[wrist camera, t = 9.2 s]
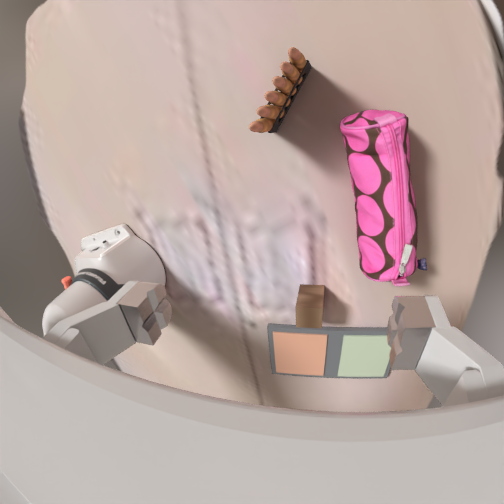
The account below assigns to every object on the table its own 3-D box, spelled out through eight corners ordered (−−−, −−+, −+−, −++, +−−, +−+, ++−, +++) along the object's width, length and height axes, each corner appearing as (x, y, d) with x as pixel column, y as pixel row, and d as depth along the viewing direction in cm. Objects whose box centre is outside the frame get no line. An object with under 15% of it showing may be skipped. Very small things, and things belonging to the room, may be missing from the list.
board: (272, 370, 57) (271, 374, 56) (268, 323, 51) (266, 328, 50) (386, 374, 51) (386, 379, 50) (401, 327, 44) (402, 332, 43)
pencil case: (417, 249, 38) (436, 286, 29) (358, 258, 41) (364, 297, 32) (398, 106, 29) (421, 104, 21) (329, 116, 33) (331, 116, 24)
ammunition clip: (299, 60, 30) (286, 37, 20) (311, 66, 30) (305, 45, 20) (264, 126, 35) (238, 132, 25) (276, 132, 35) (255, 140, 25)
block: (300, 303, 47) (296, 327, 42) (300, 284, 46) (295, 307, 40) (323, 304, 46) (321, 328, 41) (324, 285, 44) (322, 308, 39)
